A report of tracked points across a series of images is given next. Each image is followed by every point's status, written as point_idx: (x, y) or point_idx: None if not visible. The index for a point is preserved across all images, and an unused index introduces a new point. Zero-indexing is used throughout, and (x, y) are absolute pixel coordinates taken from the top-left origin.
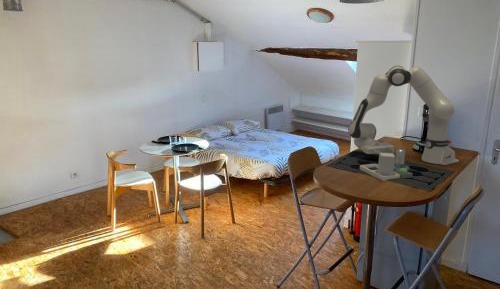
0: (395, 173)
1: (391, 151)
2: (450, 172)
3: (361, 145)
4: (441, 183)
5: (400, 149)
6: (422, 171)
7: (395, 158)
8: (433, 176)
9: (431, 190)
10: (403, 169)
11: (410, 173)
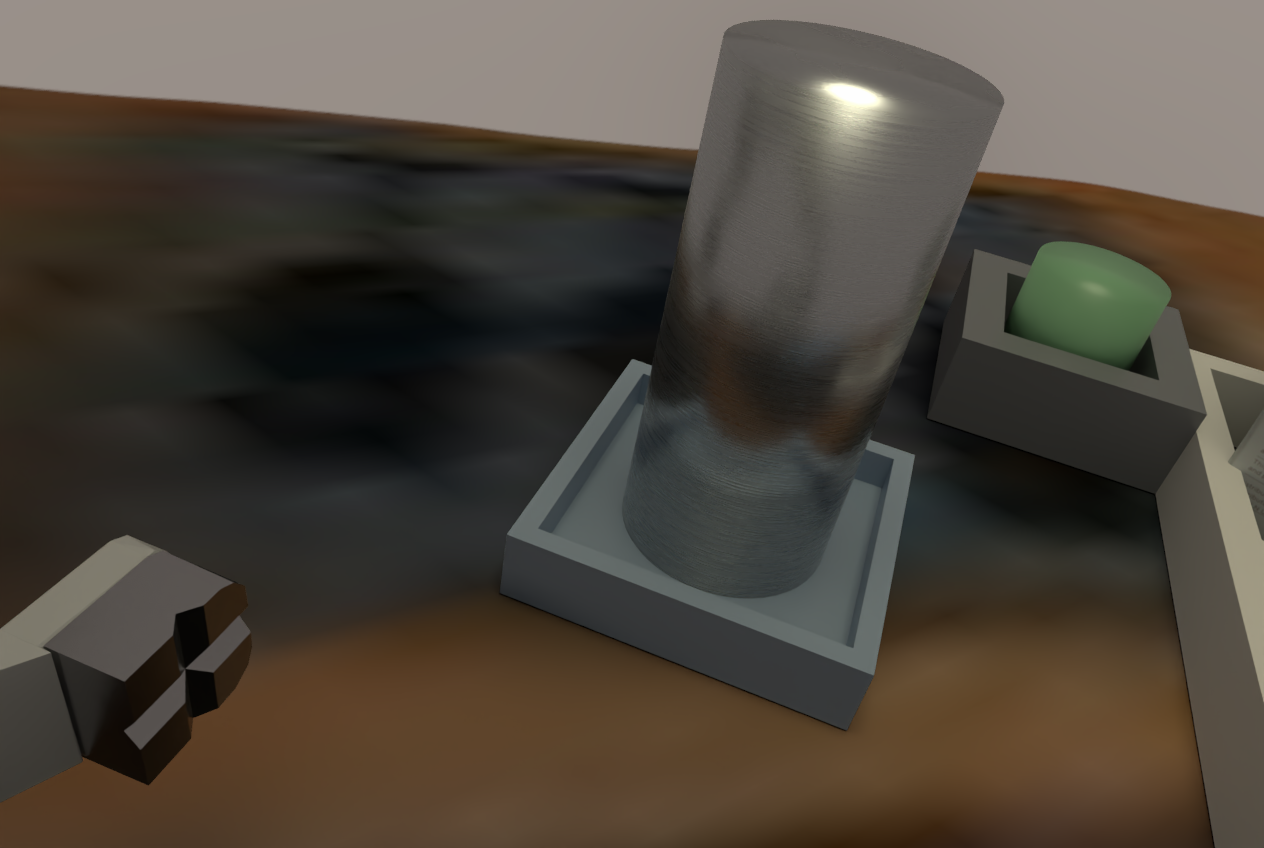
0: (1215, 394)
1: (204, 655)
2: (234, 123)
3: None
4: None
5: (857, 70)
6: (479, 292)
7: (881, 386)
8: (593, 207)
9: (1032, 195)
10: (1123, 269)
11: (1008, 264)
